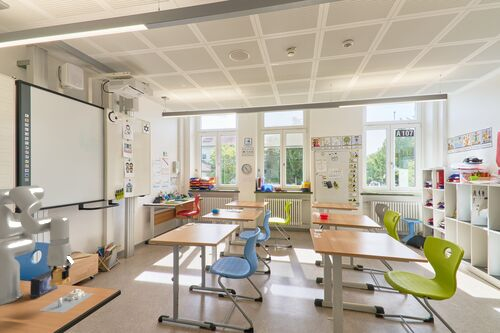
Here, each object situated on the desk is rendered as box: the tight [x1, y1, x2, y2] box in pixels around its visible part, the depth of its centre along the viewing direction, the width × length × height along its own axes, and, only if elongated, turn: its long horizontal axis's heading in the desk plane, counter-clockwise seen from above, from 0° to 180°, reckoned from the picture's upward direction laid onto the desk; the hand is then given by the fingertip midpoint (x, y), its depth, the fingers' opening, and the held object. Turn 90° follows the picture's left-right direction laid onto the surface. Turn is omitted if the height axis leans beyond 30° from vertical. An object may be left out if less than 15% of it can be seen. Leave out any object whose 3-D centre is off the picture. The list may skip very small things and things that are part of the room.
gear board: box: [39, 288, 95, 314], centre depth 122 cm, size 14×18×5 cm
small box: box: [29, 270, 58, 299], centre depth 134 cm, size 11×6×10 cm, turn 168°
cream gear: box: [66, 288, 85, 301], centre depth 127 cm, size 8×8×3 cm
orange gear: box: [49, 267, 71, 287], centre depth 118 cm, size 8×8×6 cm
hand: (60, 277), depth 118 cm, fingers closed on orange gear, 5 cm apart
